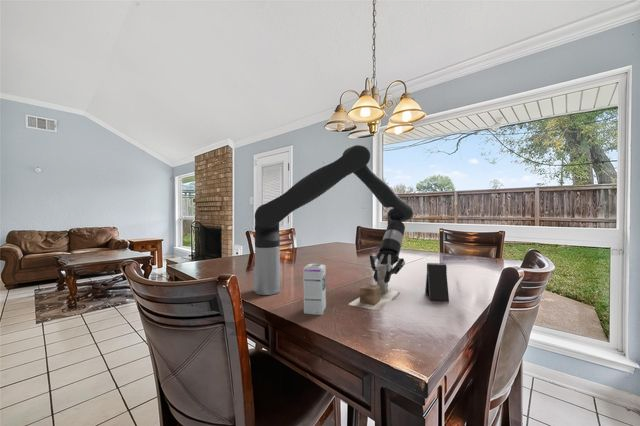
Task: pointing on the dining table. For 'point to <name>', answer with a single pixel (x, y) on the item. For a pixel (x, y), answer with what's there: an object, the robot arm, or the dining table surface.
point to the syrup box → (314, 289)
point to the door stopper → (437, 282)
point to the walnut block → (369, 294)
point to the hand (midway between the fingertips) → (380, 281)
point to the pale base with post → (384, 292)
